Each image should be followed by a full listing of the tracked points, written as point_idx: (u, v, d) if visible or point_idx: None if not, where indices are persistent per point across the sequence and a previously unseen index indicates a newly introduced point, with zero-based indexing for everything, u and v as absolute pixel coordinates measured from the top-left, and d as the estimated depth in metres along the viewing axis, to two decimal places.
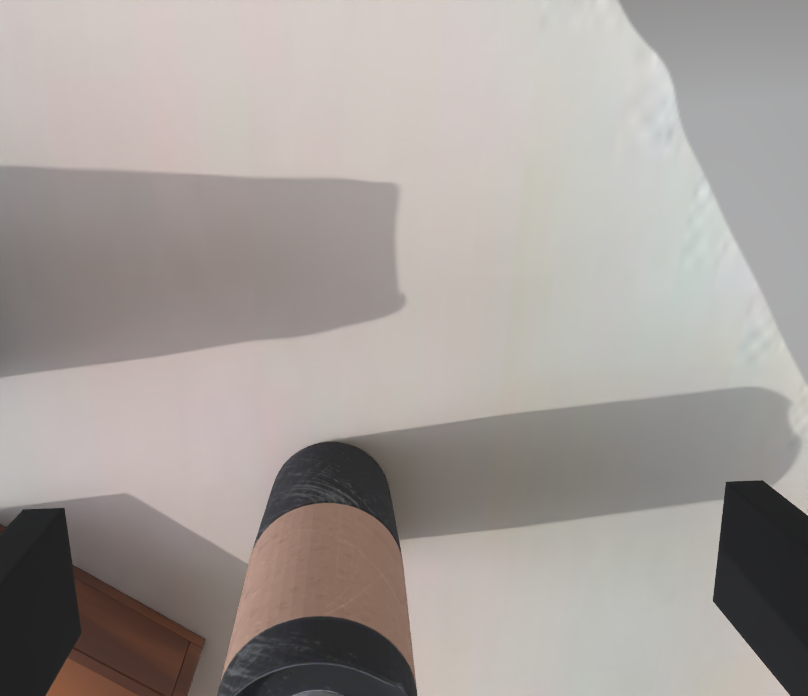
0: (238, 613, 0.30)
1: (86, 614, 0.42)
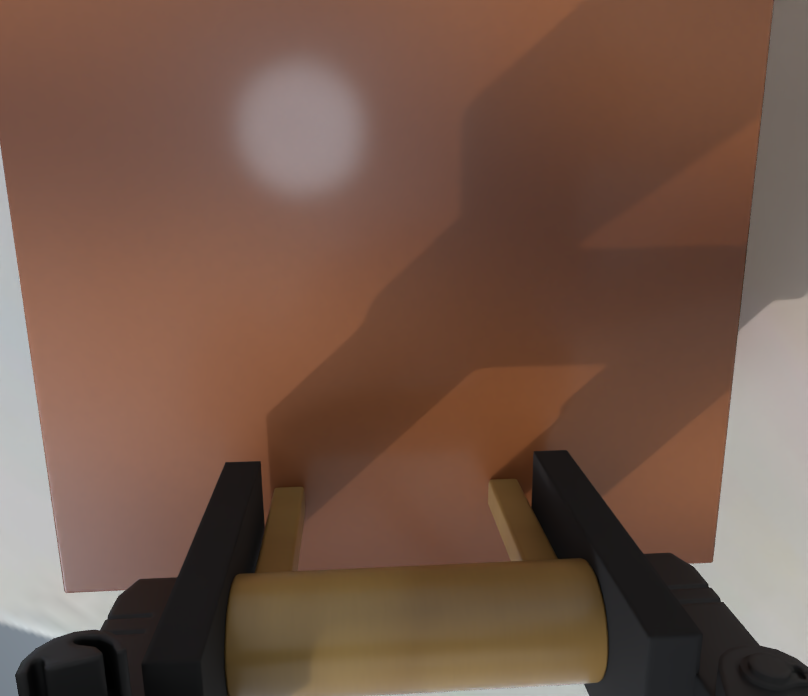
0: None
1: None
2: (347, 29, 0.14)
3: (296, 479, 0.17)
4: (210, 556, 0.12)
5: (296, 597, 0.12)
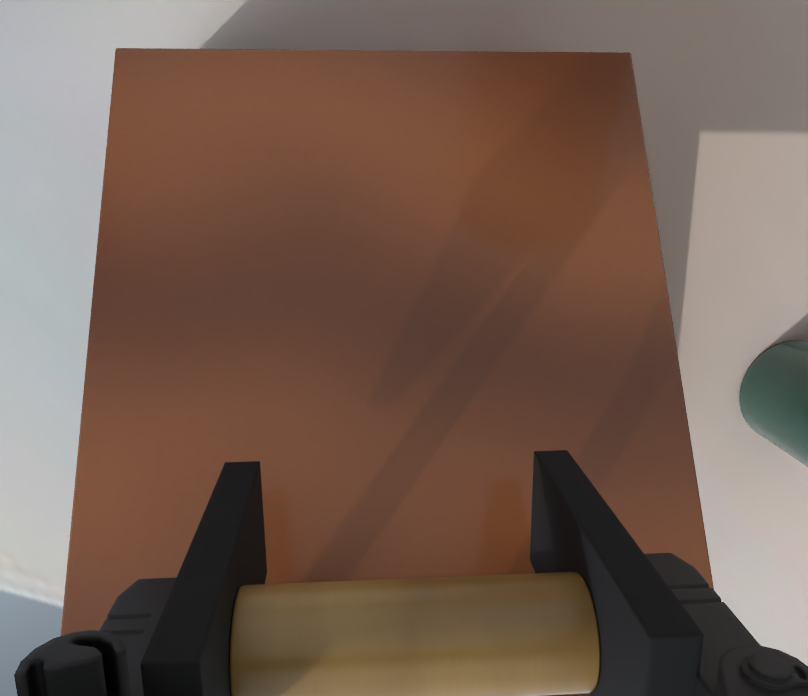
0: None
1: None
2: (354, 235, 0.20)
3: None
4: (210, 556, 0.12)
5: (301, 587, 0.12)
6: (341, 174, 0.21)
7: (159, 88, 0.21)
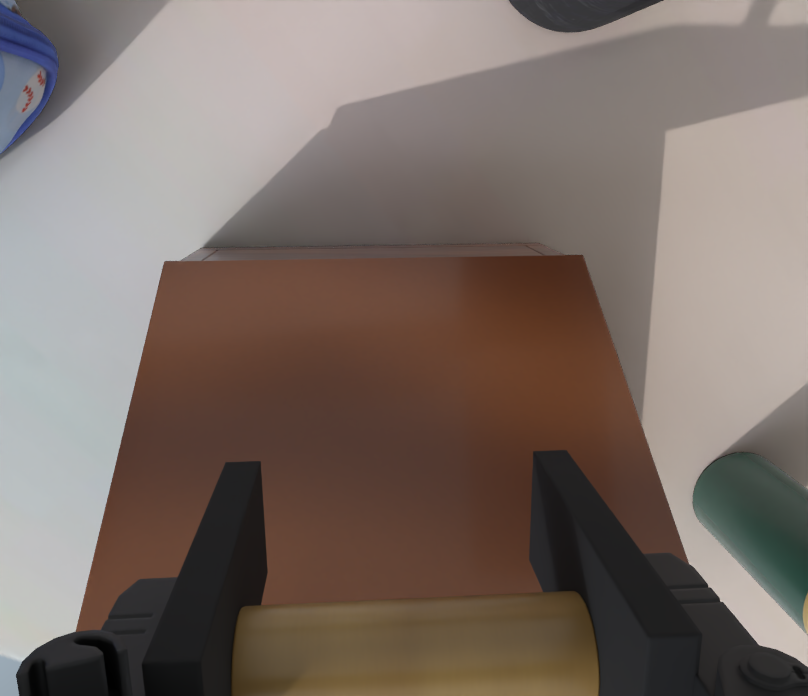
0: None
1: (390, 254, 0.31)
2: (357, 386, 0.23)
3: None
4: (210, 556, 0.12)
5: (304, 603, 0.13)
6: (346, 342, 0.24)
7: (196, 286, 0.26)
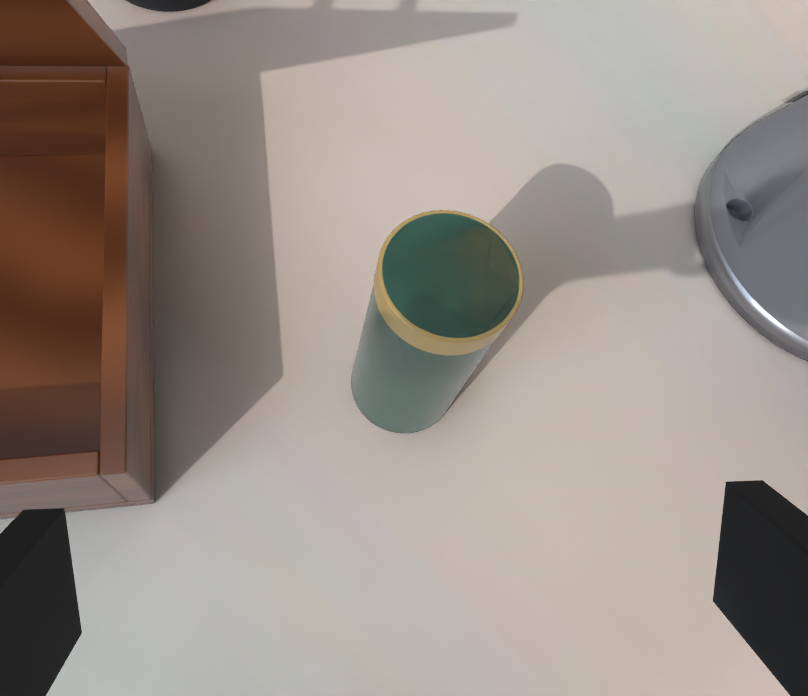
0: None
1: None
2: None
3: None
4: None
5: None
6: None
7: None
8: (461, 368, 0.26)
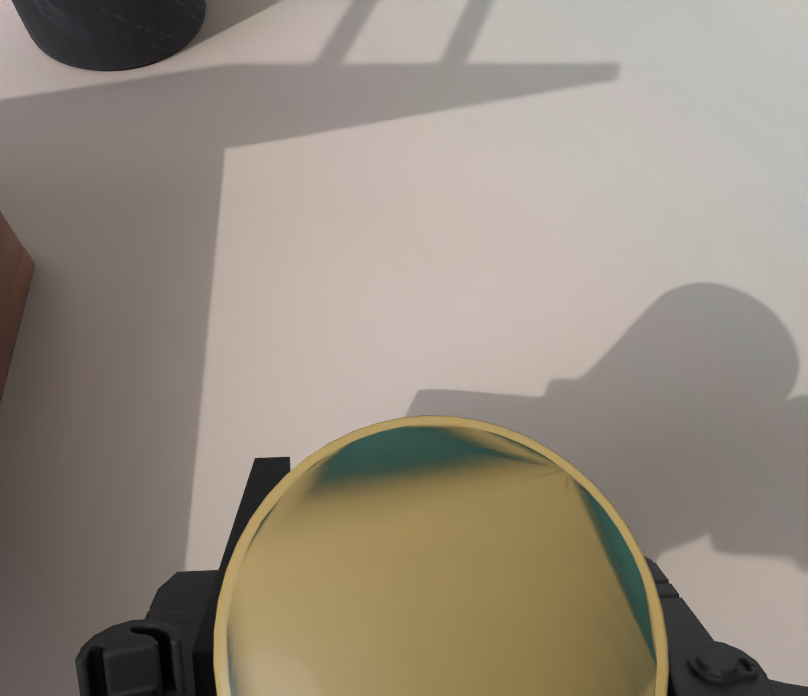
0: None
1: None
2: None
3: None
4: None
5: None
6: None
7: None
8: None
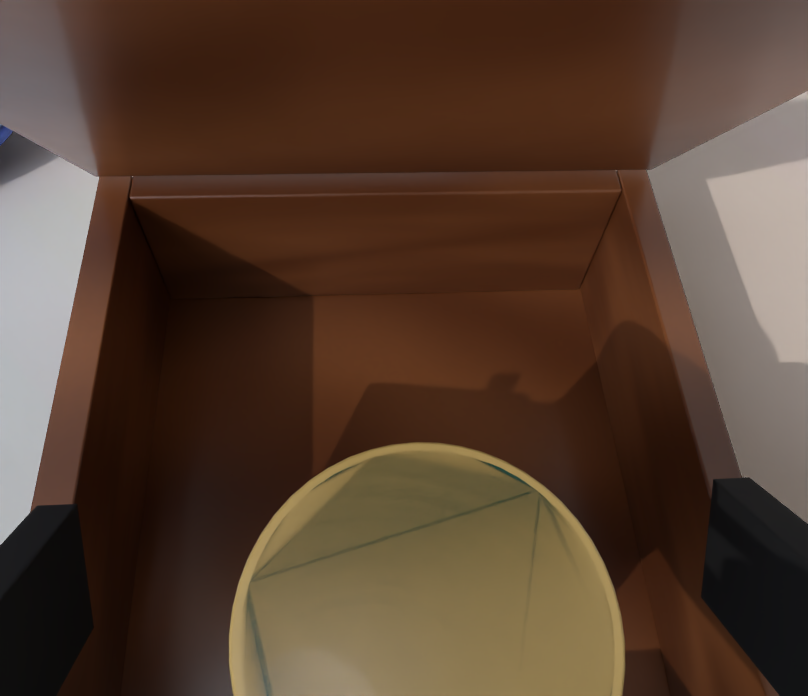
0: None
1: None
2: None
3: None
4: None
5: None
6: None
7: None
8: None
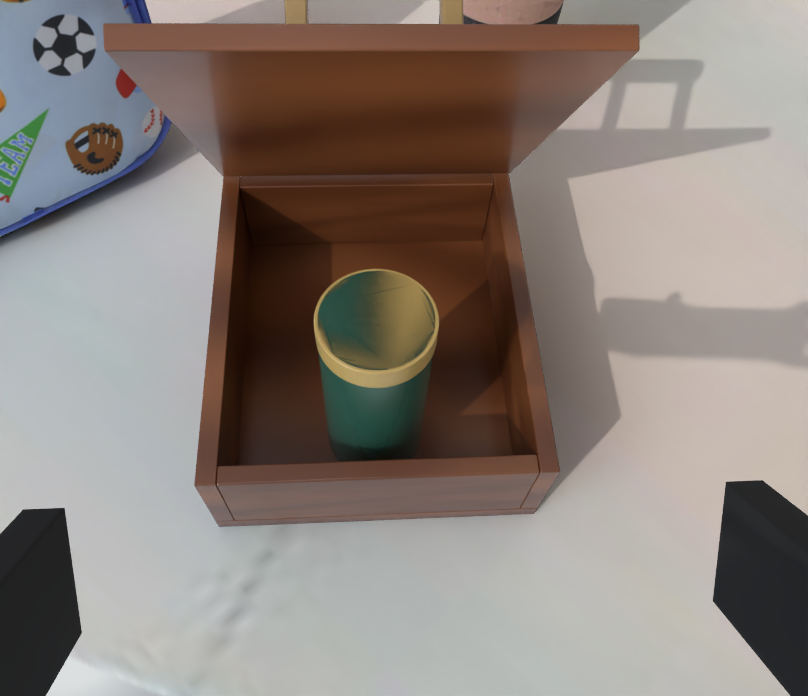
0: None
1: None
2: None
3: None
4: None
5: None
6: None
7: None
8: (393, 403, 0.30)
